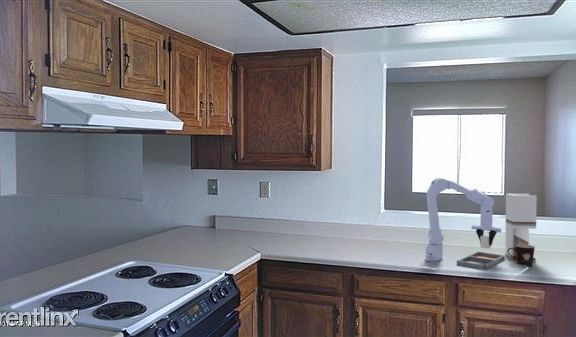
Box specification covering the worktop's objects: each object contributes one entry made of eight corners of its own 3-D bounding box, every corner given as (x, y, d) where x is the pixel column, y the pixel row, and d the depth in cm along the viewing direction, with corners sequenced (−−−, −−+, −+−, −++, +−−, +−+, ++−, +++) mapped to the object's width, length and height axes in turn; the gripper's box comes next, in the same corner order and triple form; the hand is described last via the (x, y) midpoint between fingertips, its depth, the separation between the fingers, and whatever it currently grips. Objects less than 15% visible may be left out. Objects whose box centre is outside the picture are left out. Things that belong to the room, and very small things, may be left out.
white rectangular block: (488, 248, 226) (488, 237, 225) (480, 247, 228) (480, 236, 228) (491, 247, 228) (491, 235, 228) (483, 246, 231) (483, 234, 231)
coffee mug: (536, 265, 220) (536, 245, 220) (532, 268, 214) (532, 248, 214) (511, 261, 228) (511, 242, 228) (506, 264, 222) (506, 245, 221)
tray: (485, 271, 209) (485, 265, 209) (456, 266, 219) (456, 260, 219) (504, 261, 229) (504, 255, 229) (477, 256, 239) (477, 251, 239)
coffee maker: (512, 261, 228) (513, 195, 227) (505, 256, 239) (505, 193, 237) (535, 262, 226) (536, 195, 225) (527, 257, 237) (528, 193, 236)
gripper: (503, 219, 226) (503, 245, 227) (475, 216, 236) (474, 241, 237) (499, 220, 221) (498, 247, 222) (470, 217, 231) (469, 243, 232)
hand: (486, 244), depth 229 cm, fingers closed on white rectangular block, 4 cm apart
